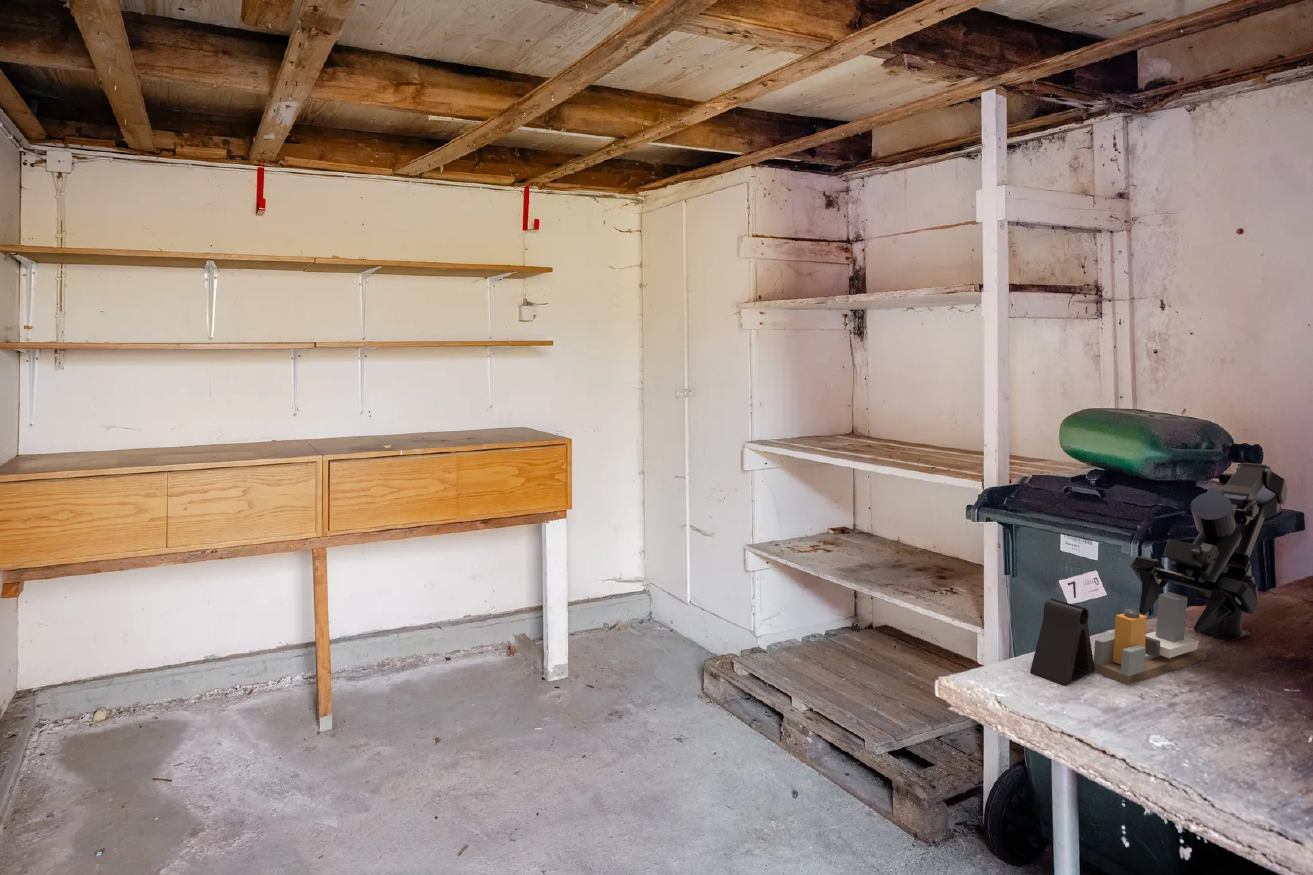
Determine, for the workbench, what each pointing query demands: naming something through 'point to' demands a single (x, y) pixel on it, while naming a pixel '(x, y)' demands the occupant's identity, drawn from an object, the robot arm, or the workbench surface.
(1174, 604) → the carriage
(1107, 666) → the rail bed
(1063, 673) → the phone stand
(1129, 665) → the end housing
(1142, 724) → the workbench surface
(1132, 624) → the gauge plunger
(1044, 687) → the workbench surface
